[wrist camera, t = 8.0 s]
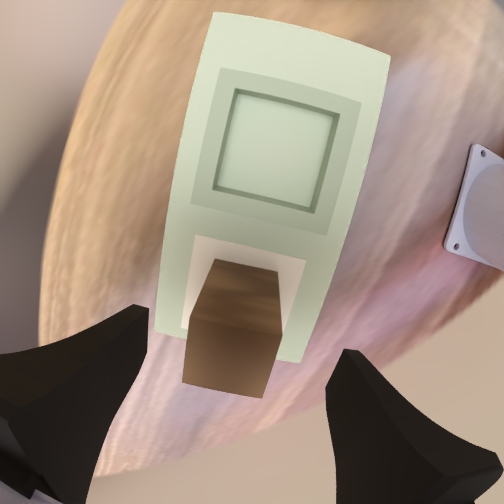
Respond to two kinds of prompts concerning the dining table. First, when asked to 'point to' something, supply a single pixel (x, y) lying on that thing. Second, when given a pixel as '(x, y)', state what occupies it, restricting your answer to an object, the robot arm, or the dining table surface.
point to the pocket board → (269, 166)
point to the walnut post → (234, 330)
